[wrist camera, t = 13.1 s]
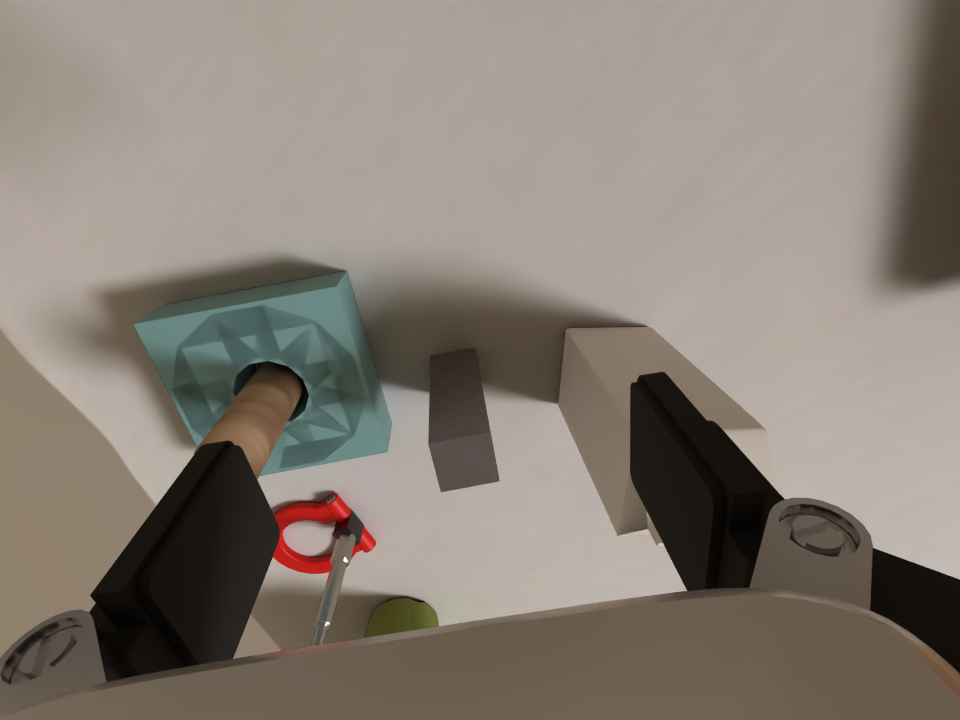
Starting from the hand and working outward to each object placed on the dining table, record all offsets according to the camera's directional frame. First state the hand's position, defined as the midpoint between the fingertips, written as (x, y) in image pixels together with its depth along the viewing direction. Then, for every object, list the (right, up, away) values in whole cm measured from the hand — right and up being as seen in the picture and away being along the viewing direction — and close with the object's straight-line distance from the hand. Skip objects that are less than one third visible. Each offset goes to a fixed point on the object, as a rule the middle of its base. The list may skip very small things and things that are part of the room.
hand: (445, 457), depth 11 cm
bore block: (-14, +2, +26) cm, 30 cm away
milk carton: (+11, +2, +28) cm, 30 cm away
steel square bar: (-1, +1, +27) cm, 27 cm away
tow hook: (-15, -14, +34) cm, 39 cm away
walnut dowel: (-14, +2, +26) cm, 30 cm away
